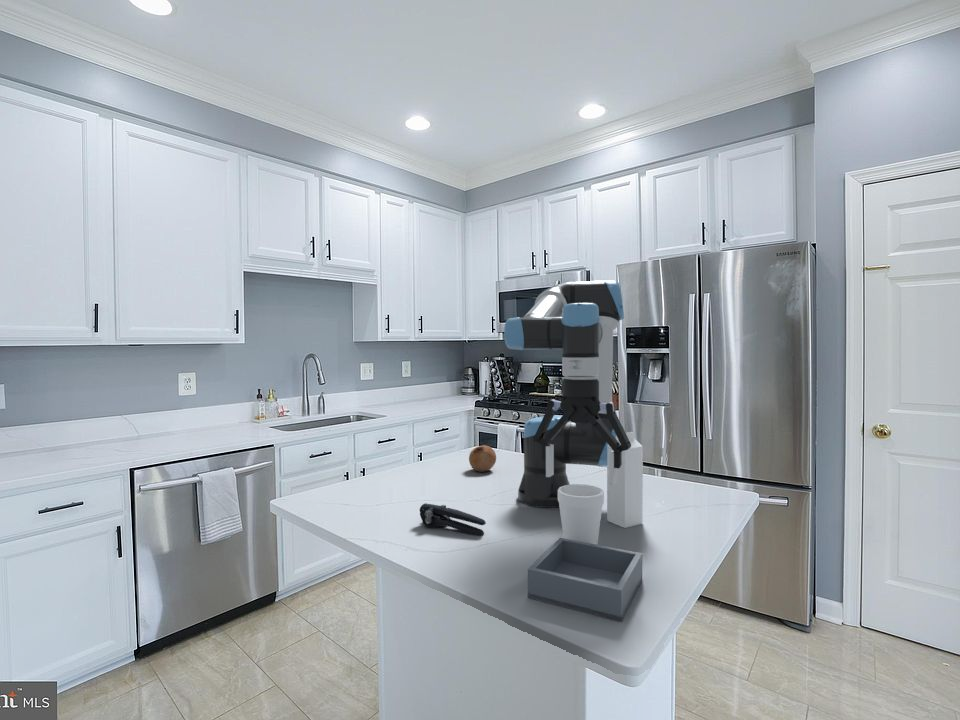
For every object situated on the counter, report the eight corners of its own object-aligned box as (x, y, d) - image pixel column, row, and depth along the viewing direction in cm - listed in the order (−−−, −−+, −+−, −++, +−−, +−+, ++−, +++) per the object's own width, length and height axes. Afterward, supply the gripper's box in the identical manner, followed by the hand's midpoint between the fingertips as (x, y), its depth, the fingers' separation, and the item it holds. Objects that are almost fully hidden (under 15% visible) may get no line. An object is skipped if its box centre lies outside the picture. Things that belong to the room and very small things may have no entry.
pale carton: (642, 524, 123) (643, 433, 122) (624, 528, 120) (625, 435, 119) (624, 516, 128) (625, 429, 127) (606, 520, 125) (607, 431, 124)
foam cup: (553, 543, 111) (553, 484, 110) (595, 542, 112) (595, 483, 111) (564, 562, 101) (564, 498, 101) (609, 560, 102) (609, 496, 102)
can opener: (413, 527, 122) (412, 504, 122) (429, 519, 128) (429, 497, 128) (476, 541, 113) (476, 516, 113) (491, 531, 119) (491, 507, 119)
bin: (527, 597, 87) (527, 569, 87) (560, 562, 101) (559, 537, 101) (621, 621, 80) (621, 590, 80) (642, 580, 94) (642, 553, 93)
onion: (480, 482, 171) (473, 458, 167) (467, 469, 179) (461, 446, 175) (503, 469, 175) (498, 446, 170) (490, 457, 183) (484, 434, 178)
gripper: (518, 377, 108) (518, 476, 109) (638, 380, 96) (637, 492, 96) (532, 375, 115) (532, 469, 115) (646, 378, 103) (645, 482, 103)
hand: (580, 479), depth 106 cm, fingers open, 13 cm apart
